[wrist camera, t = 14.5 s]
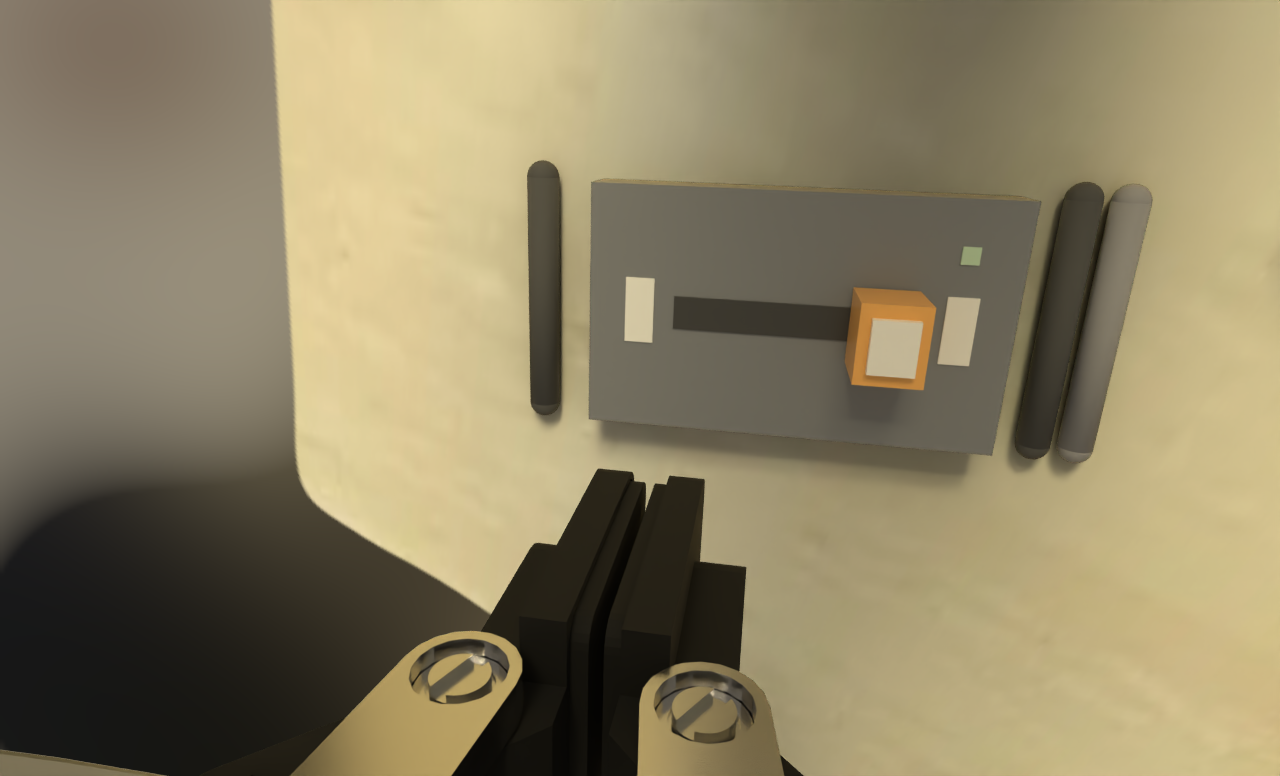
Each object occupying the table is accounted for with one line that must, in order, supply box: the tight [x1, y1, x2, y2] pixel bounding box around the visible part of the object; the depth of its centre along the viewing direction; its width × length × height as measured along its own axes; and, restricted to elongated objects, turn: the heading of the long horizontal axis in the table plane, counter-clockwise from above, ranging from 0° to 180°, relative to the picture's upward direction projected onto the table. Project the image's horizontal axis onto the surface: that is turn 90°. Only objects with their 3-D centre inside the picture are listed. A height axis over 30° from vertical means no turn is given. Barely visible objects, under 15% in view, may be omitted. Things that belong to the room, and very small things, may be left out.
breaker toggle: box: [845, 287, 936, 390], centre depth 34 cm, size 4×3×4 cm
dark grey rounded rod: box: [527, 161, 560, 415], centre depth 40 cm, size 14×2×2 cm, turn 178°
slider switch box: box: [589, 179, 1041, 456], centre depth 38 cm, size 12×20×3 cm, turn 88°
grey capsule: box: [1015, 182, 1104, 459], centre depth 37 cm, size 14×2×2 cm, turn 178°
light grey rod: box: [1057, 184, 1152, 463], centre depth 36 cm, size 14×2×2 cm, turn 178°
